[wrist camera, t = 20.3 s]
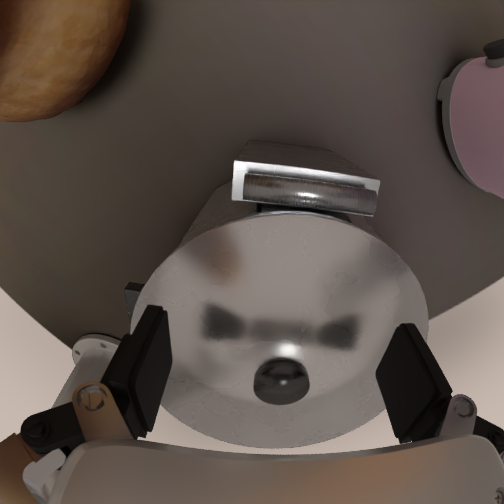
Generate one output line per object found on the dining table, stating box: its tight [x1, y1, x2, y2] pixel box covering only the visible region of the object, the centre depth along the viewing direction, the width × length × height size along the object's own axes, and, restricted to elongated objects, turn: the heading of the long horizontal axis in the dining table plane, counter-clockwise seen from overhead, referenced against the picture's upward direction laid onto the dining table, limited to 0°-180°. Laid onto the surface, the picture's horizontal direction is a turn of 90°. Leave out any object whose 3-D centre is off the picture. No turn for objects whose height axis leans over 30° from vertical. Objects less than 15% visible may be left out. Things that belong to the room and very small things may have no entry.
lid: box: [130, 173, 428, 448], centre depth 13 cm, size 16×15×2 cm
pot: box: [124, 140, 383, 322], centre depth 19 cm, size 16×18×11 cm
